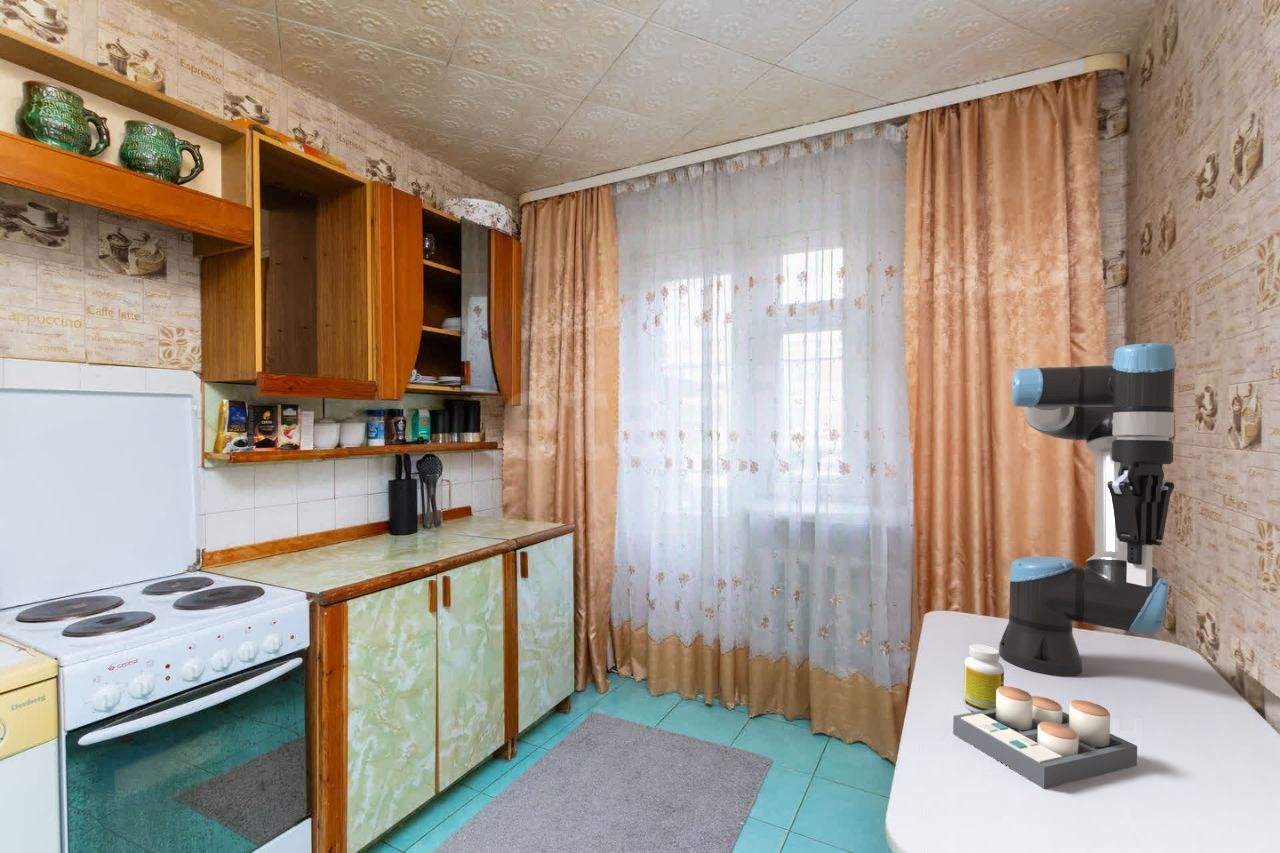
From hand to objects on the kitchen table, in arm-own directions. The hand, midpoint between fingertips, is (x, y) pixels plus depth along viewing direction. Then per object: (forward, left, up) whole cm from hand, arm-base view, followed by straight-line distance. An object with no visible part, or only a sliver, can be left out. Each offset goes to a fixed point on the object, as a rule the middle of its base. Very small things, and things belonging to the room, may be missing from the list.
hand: (1139, 583), depth 91 cm
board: (+16, -4, -26) cm, 31 cm away
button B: (+11, 0, -24) cm, 26 cm away
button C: (+18, -8, -24) cm, 30 cm away
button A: (+11, -7, -26) cm, 29 cm away
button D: (+18, -1, -26) cm, 31 cm away
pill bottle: (+13, -17, -27) cm, 34 cm away
